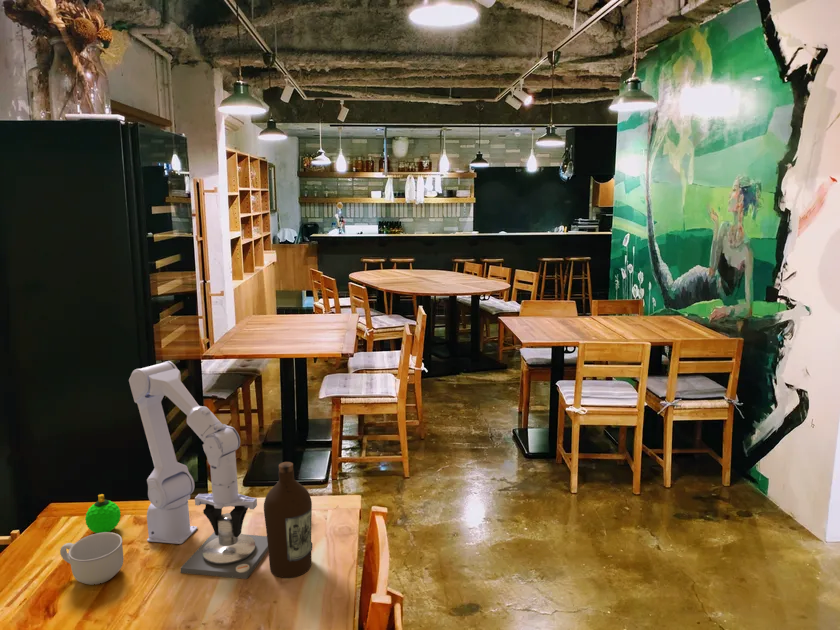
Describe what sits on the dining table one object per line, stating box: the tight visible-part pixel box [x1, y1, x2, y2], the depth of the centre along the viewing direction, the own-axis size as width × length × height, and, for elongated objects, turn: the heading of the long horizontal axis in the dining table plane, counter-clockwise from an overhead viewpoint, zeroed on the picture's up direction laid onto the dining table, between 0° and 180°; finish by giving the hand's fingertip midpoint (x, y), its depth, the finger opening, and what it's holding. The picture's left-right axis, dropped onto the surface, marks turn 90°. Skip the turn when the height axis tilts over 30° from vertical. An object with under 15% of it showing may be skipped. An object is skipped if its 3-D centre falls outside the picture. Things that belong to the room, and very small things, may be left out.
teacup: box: [59, 531, 124, 586], centre depth 144 cm, size 14×11×8 cm
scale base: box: [179, 531, 268, 580], centre depth 151 cm, size 16×16×2 cm
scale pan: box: [202, 533, 255, 564], centre depth 151 cm, size 12×12×1 cm
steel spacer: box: [217, 512, 238, 546], centre depth 150 cm, size 4×4×6 cm
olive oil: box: [263, 461, 313, 579], centre depth 145 cm, size 11×11×25 cm
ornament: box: [84, 493, 122, 534], centre depth 163 cm, size 8×8×10 cm
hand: (228, 534), depth 151 cm, fingers closed on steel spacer, 4 cm apart
